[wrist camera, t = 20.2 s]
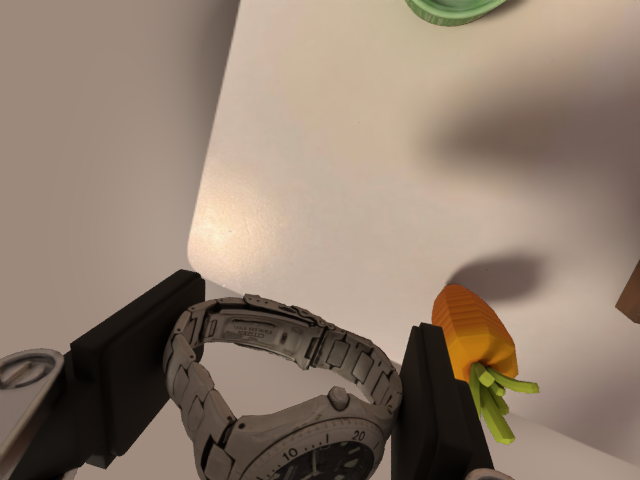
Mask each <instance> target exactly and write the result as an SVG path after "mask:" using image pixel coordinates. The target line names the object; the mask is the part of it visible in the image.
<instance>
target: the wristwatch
mask: <svg viewBox="0 0 640 480" xmlns="http://www.w3.org/2000/svg"><path fill="white" fill-rule="evenodd" d="M206 342H227V343H234V344H236V345H239V346H242V347H246V348H250V349H254V350H258V351H266V352H268V353H270V354H275V355H277V356H279V357H283V358H285V359H286V360H290V361H293V362H295V363H296V364H298V366H299V367H300V368H301V369H302V370H308V369H309V366H311V367H313V368H324V369H330V370H331V371H333V372H334V373H335V374H337V375H339V376H341V377H342V378H344V379H345V380H347V381H349V382H351V383H354V384H356V386H357V387H358V388H359V389H360V390H361V391H362V393H363V394H364V396H365V397H366V398H367V399H368V401H369V402H370V403H371V404H369V403H366V402H364V401H362V400H360V399H359V398H357V397H356V396H354V395H353V394H350V393H349V394H348V393H346V391H345V389H344V388H341V387H338V386H334V387H333V388H332V389H331V390H330V391H329V393H328V395H327V396H326V395H320V396H318V397H315V398H313V399H310V400H308V401H306V402H303V403H301V404H298V405H295V406H292V407H290V408H287V409H284V410H281V411H279V412H276V413H273V414H269V415H261V416H255V415H254V416H253V415H250V416H242V417H240V418H239V419H238V420H237V418H236V417H235V416H234V415H233V413H232V412H231V410H230V408H229V407H228V405H227V404H226V402H225V401H224V399H223V398H222V396H221V395H220V393H219V392H218V391H217V390H216V389H214V382H213V380H212V378H211V376H210V374H209V372H208V371H207V370H206V369H205V368H204V367H203V366H202V365H201V364H199V363H197V362H196V355H195V353H194V351H193V350H192V349H193V348H195V347H197V346H200V345H202V344H204V343H206ZM163 370H164V378H165V381H166V386H167V390H168V393H169V396H170V398H171V399H172V400H173V401H174V402H175V404H176V405H177V406H178V407H179V408H180V410H181V418H182V422H183V425H184V427H185V430H186V432H187V435H188V436H189V438H190V439H191V440H192V442H193V447H194V456H195V464H196V469H197V472H198V475H199V477H200V479H201V480H369V479H370V478H371V476H372V475H373V474H374V472H375V471H376V469H377V468H378V466H379V464H380V462H381V460H382V457H383V454H384V450H385V448H384V446H385V444H386V441H387V440H388V438H389V437H390V435H391V433H392V429H393V427H394V426H395V423H396V421H397V418H398V414H399V410H400V406H401V401H402V397H403V388H402V383H401V380H400V377H399V375H398V373H397V372H396V369H395V368H394V366H393V365H392V363H391V362H390V360H389V358H388V357H387V355H386V354H385V353H384V352H383V351H382V350H381V349H380V348H379V347H378V346H376V345H375V344H373V343H372V341H371V340H369V339H366V338H364V337H361V336H358V335H356V334H354V333H351V332H349V331H346V330H344V329H341V328H339V327H337V326H335V325H334V324H332V323H328V322H326V321H325V320H323V319H322V318H321V317H320V316H316V315H314V314H312V313H310V312H309V311H308V310H305V309H303V308H300V307H297V306H290V307H289V306H286V305H285V304H281V303H278V302H276V301H273V300H269V299H265V298H261V297H260V296H259V295H251V294H245V295H244V297H243V299H241V298H233V297H228V298H220V299H214V300H208V301H205V302H202V303H198V304H195V305H193V306H191V307H190V308H188V310H187V311H185V312H184V313H183V314H182V315H181V316H180V318H179V319H178V321H177V322H176V324H175V326H174V328H173V330H172V332H171V334H170V337H169V339H168V342H167V344H166V347H165V350H164V353H163Z"/></svg>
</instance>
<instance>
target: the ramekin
mask: <svg viewBox="0 0 640 480" xmlns="http://www.w3.org/2000/svg"><path fill="white" fill-rule="evenodd" d="M405 1H406V3H407V4H408V6H409V7H410V8H411V9H412V11H413V12H414V13H415V14H416V15H418V16H419V17H420V18H422V19H423V20H425V21H427V22H429V23H432V24H436V25H440V26H458V25H463V24H466V23H469V22H471V21H474V20H476V19H478V18H480V17H482V16H483V15H485V14H486V13H487V12H489V11H491V10H493V9H494V8H496V7H498V6H499V5H501V4H503V3H504V2H505V1H507V0H405Z"/></svg>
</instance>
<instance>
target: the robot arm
mask: <svg viewBox="0 0 640 480" xmlns="http://www.w3.org/2000/svg"><path fill="white" fill-rule="evenodd" d="M202 302H205V280H204V279H202V278H201V275H200V274H199V273H197V272H192V271H188V270H183V269H181V270H179V271H177V272H175V273H174V274H172V275H171V276H170V277H168V278H166V279H165V280H163V281H162V282H161V283H159V284H158V285H156V286H155V287H153V288H152V289H150V290H149V291H147V292H146V293H144V294H143V295H141V296H140V297H138V298H137V299H135V300H134V301H132V302H131V303H130V304H128V305H127V306H125V307H124V308H122V309H121V310H119V311H118V312H116V313H115V314H113V315H112V316H110V317H109V318H107V319H106V320H105V321H103V322H101V323H100V324H99V325H97V326H96V327H94V328H93V329H91V330H90V331H88V332H87V333H85V334H84V335H82V336H81V337H79V338H78V339H76V340H75V341H73V342H72V343H70V348H71V350H70V351H69V352H67V353H66V354H65V355H62V354H60V352H57V351H55V350H51V349H43V348H40V349H30V350H25V351H21V352H17V353H14V354H11V355H9V356H6V357H3V358H1V359H0V480H73V479H74V477H75V475H76V473H77V469H78V468H79V467H81V466H82V465H83V464H84V463H85V462H86V463H87V464H91V465H93V466H97V467H100V468H103V469H106V468H107V467H108V466H109V465H110V464H111V462H112V461H113V460H114V459H115V458H116V456H122V455H124V454H125V453H126V452H127V451H128V449H129V448H130V447H131V446H132V444H133V443H134V442H135V441H136V440H137V438H138V437H139V436H140V435H141V433H142V432H143V431H144V430H145V428H146V427H147V426H148V425H149V423H150V422H151V421H152V420H153V419H154V417H155V416H156V415H157V414H158V412H159V411H160V410H161V409H162V408H163V406H164V405H165V404H166V403H167V401H168V400H169V399H170V396H169V393H168V390H167V386H166V381H165V378H164V370H163V353H164V350H165V347H166V344H167V342H168V339H169V337H170V334H171V332H172V330H173V328H174V326H175V324H176V322H177V321H178V319H179V318H180V316H181V315H182V314H183V313H184V312H185V311H187V310H188V308H190V307H191V306H193V305H195V304H198V303H202ZM192 350H193V351H194V353H195V355H196V362H197V363H199V362H200V360H201V358H202V355H203V352H204V344H202V345H200V346H197V347H195V348H193V349H192ZM399 377H400V380H401V383H402V388H403V397H402V401H401V406H400V410H399V414H398V418H397V421H396V423H395V426H394V427H393V429H392V433H391V480H514V479H513V478H511V477H510V476H508V475H506V474H503V473H501V472H499V471H496V470H495V469H494V466H493V462H492V459H491V456H490V452H489V449H488V446H487V443H486V439H485V436H484V432H483V429H482V426H481V422H480V419H479V416H478V412H477V409H476V406H475V402H474V399H473V396H472V392H471V389H470V386H469V384H468V382H466V381H464V380H459V379H455V376H454V372H453V368H452V364H451V360H450V356H449V352H448V348H447V344H446V340H445V336H444V332H443V329H442V327H441V326H436V325H432V324H427V323H423V322H421V324H420V326H419V327H417V326H413V327H412V330H411V333H410V337H409V341H408V344H407V348H406V352H405V356H404V359H403V363H402V367H401V371H400V375H399Z"/></svg>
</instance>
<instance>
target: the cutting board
mask: <svg viewBox="0 0 640 480" xmlns="http://www.w3.org/2000/svg"><path fill="white" fill-rule="evenodd" d="M615 307H616V308H617V309H618V310H619V311H621V312H622V313H623V314H624V315H626V316H627V317H628V318H629V319H630V320H632V321H633V322H634V323H638V324H640V260H639V262H638V264H637V266H636V268H635V270H634V272H633V274H632V276H631V277H630V279H629V281H628V283H627V285H626V287H625V289H624V291H623V293H622V295H621V297H620V298H619V300H618V302H617V304H616V306H615Z"/></svg>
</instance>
